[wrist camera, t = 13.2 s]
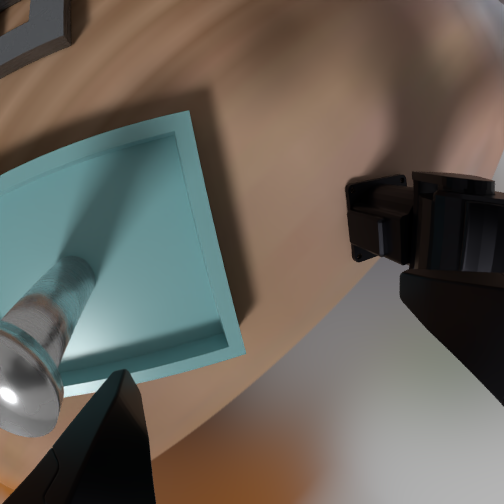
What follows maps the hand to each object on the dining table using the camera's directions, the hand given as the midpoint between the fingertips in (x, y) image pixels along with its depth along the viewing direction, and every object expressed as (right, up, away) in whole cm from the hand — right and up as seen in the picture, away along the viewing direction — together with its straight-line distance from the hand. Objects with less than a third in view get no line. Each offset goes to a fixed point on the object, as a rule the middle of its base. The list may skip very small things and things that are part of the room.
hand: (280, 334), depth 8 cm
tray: (-13, +1, +10) cm, 16 cm away
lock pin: (-13, +1, +9) cm, 16 cm away
